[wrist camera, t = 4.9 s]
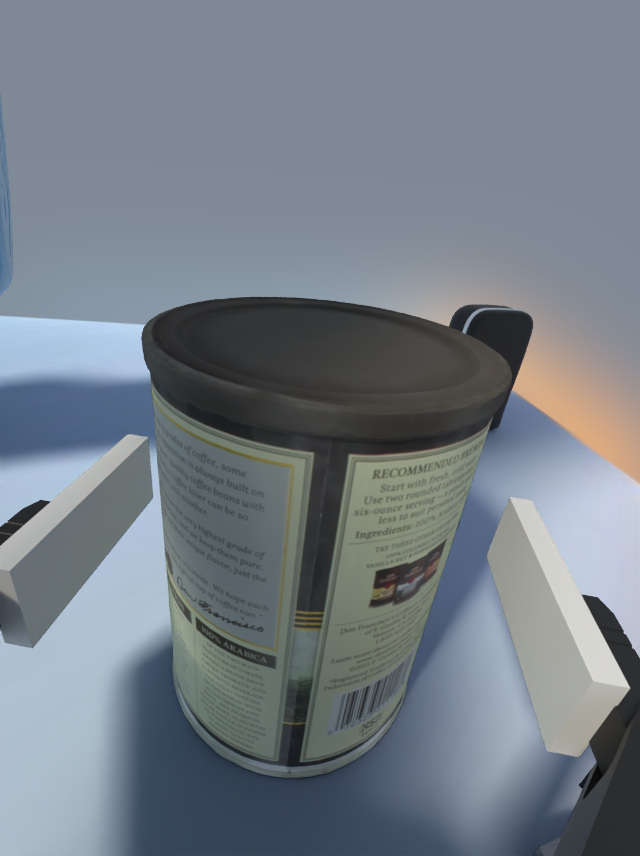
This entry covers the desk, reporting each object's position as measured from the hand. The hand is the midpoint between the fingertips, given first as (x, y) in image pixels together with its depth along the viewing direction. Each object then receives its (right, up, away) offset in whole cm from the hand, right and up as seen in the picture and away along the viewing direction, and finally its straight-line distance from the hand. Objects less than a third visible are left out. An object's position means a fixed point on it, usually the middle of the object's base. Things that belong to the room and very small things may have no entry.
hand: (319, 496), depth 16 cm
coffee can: (-1, -7, +3) cm, 8 cm away
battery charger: (+14, +3, +26) cm, 30 cm away
